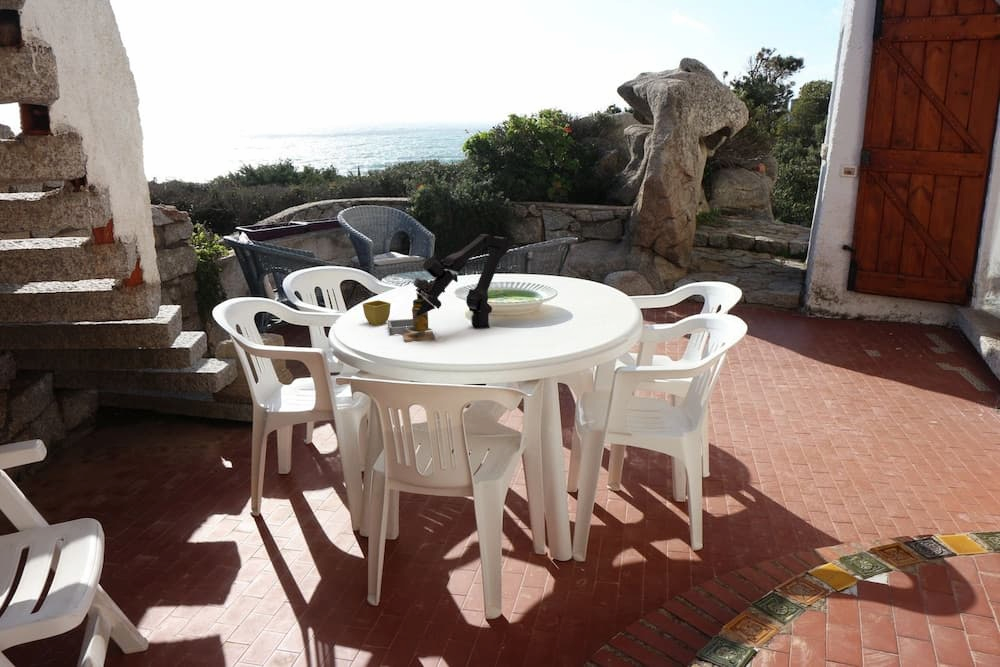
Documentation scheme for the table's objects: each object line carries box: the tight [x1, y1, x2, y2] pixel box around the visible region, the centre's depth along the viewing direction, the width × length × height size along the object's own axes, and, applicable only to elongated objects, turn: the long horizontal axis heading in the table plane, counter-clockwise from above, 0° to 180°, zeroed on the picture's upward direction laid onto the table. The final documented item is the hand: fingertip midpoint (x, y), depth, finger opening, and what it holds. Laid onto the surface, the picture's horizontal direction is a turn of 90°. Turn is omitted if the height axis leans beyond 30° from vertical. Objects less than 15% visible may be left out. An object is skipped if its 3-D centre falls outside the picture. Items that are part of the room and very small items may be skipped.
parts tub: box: [387, 318, 426, 336], centre depth 302 cm, size 14×13×3 cm
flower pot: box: [362, 299, 392, 326], centre depth 313 cm, size 9×9×9 cm
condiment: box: [406, 298, 433, 333], centre depth 289 cm, size 7×8×12 cm
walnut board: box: [402, 330, 436, 343], centre depth 291 cm, size 12×10×1 cm
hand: (414, 313), depth 288 cm, fingers closed on condiment, 6 cm apart
